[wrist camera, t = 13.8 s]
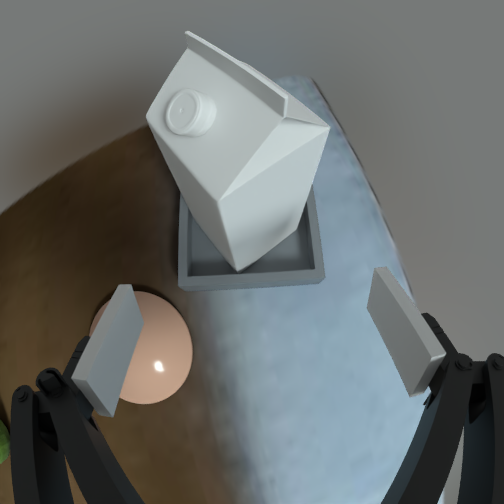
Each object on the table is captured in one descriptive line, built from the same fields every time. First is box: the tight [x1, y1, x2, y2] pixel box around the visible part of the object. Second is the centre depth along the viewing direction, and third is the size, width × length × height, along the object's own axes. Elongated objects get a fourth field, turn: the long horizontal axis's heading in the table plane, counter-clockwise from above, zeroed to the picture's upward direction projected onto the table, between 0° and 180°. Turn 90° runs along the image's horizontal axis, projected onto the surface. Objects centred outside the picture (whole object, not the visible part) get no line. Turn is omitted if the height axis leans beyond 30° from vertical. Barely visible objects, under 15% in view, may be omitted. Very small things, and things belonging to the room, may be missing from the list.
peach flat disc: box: [89, 291, 193, 404], centre depth 25 cm, size 11×11×1 cm
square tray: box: [178, 185, 325, 291], centre depth 28 cm, size 13×13×3 cm
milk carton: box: [146, 31, 331, 274], centre depth 19 cm, size 7×7×19 cm
